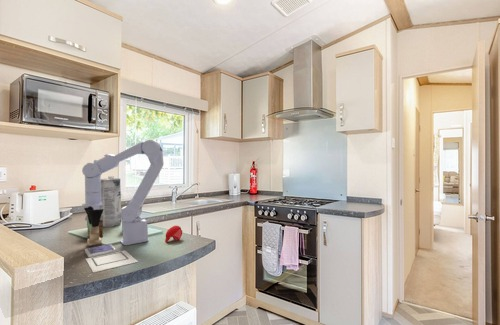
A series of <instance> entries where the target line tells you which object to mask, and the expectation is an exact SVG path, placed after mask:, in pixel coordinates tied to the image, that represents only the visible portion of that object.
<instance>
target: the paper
mask: <svg viewBox="0 0 500 325" xmlns="http://www.w3.org/2000/svg"><path fill="white" fill-rule="evenodd" d="M85 261H86V262H87V264H88V266H89V268H90V270H91V271H92V273H99V272H102V271H107V270H111V269H114V268H116V269H117V268H120V267H124V266H127V265H132V264H137V263H138V260H137V259H136V258H135V257H133V256H132V255H131V254H130V253H129V252H128V251H127V250H121V251H118V252H117V251H116V253H111V254H106V255H101V256H96V257H91V258H88V257H87V258H85Z"/></svg>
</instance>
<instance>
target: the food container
mask: <svg viewBox="0 0 500 325" xmlns="http://www.w3.org/2000/svg"><path fill="white" fill-rule="evenodd" d="M84 219H85V220H84V221H86V228H87V234H88V235H87V236H89V237H88V238H90V230H89V226H91V225H92V224H89V221H88V216H87V214H86V215H85V218H84ZM99 237H100V238H103V237H104V227H103V215H102V216H101V218H100V223H99Z"/></svg>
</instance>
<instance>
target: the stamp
mask: <svg viewBox="0 0 500 325" xmlns="http://www.w3.org/2000/svg"><path fill="white" fill-rule="evenodd" d="M89 230H90V237H89V238H87V246H88V248H93V247H98V246H103V244H102V240H103V239H102V237H99V226H98V227H92V225H91V226H89Z"/></svg>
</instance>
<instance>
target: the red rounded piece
mask: <svg viewBox="0 0 500 325" xmlns="http://www.w3.org/2000/svg"><path fill="white" fill-rule="evenodd" d="M182 236H183V230H182V228H181V226H179V225H173V226H171V227H170V228H169V229H167V231H166V233H165V239H164V242H165V243H168V242H169V241H170V240H171V238H173V240H176V241H177V242H179V241H181V237H182Z"/></svg>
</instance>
